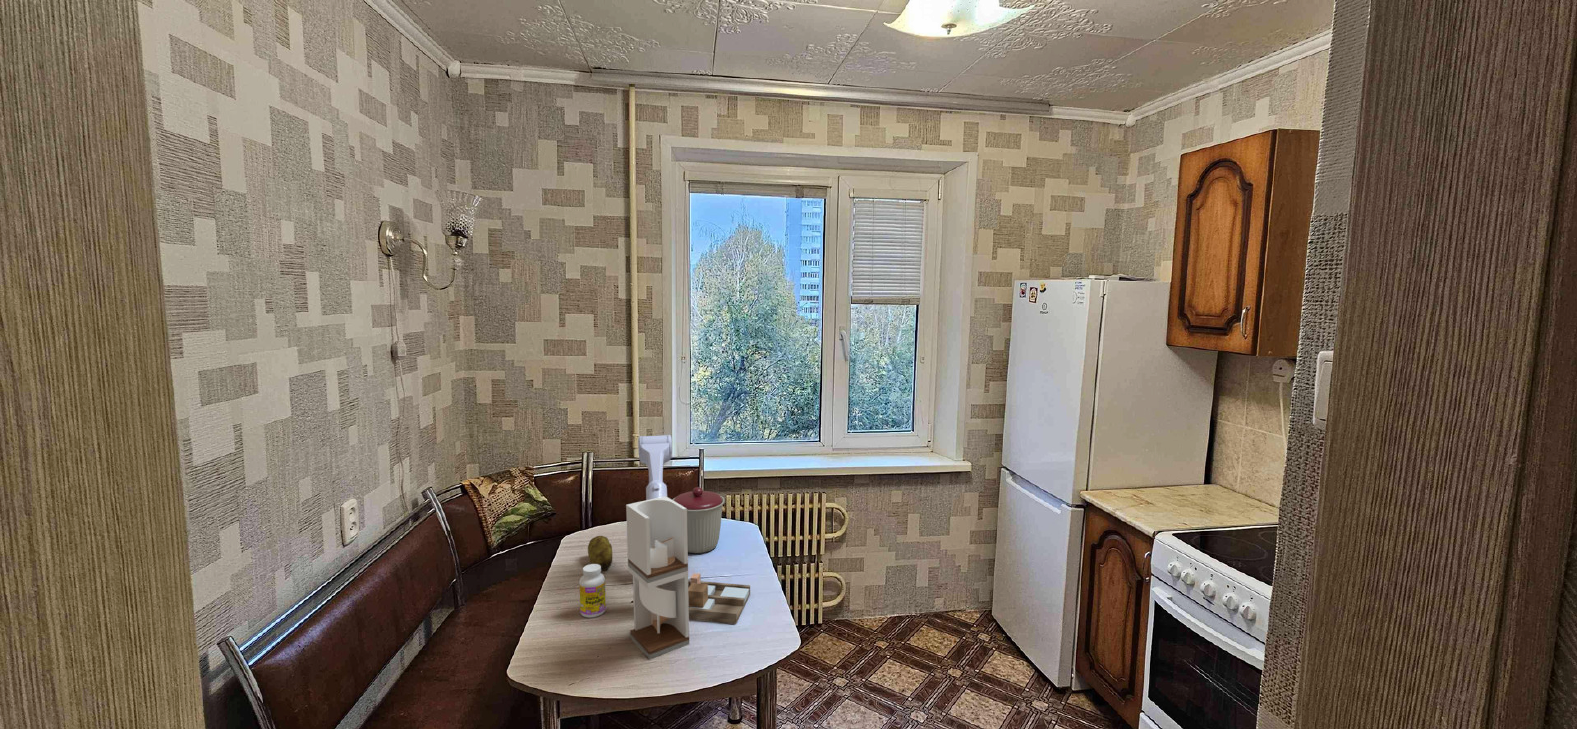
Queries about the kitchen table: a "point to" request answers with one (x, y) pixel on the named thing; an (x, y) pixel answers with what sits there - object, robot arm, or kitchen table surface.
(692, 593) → the walnut block
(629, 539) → the white tiered stand
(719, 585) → the lane board
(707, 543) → the canister
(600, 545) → the potato
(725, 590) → the broken strip
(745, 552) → the kitchen table surface
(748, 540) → the kitchen table surface
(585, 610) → the supplement bottle
